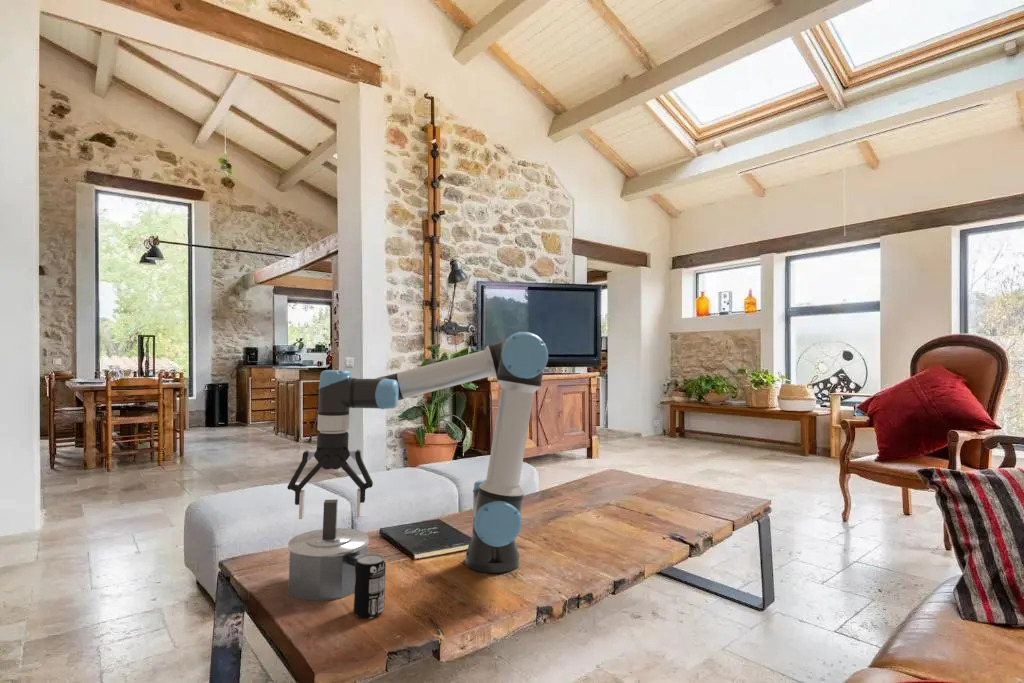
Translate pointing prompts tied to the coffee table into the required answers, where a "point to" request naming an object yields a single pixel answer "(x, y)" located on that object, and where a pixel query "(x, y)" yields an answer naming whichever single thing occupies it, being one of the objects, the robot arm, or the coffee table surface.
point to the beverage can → (369, 586)
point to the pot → (323, 576)
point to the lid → (328, 538)
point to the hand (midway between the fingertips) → (330, 516)
